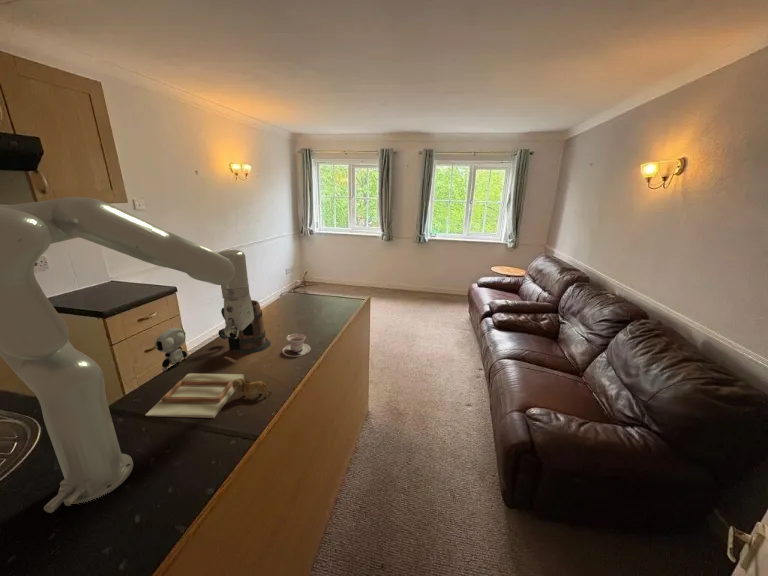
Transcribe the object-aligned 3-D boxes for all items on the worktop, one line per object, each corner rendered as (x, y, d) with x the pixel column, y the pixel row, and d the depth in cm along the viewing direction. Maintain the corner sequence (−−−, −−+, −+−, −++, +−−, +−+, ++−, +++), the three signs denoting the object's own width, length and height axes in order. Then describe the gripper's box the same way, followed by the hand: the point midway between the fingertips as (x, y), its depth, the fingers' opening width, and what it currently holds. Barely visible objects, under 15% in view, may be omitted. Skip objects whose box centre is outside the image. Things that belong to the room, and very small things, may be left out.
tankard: (278, 340, 143) (275, 299, 137) (256, 358, 127) (251, 313, 122) (234, 334, 148) (229, 294, 142) (207, 350, 132) (200, 306, 126)
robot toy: (167, 374, 115) (160, 337, 110) (158, 372, 116) (150, 336, 111) (194, 358, 126) (189, 324, 122) (185, 356, 127) (179, 323, 123)
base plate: (214, 419, 93) (213, 411, 92) (146, 419, 92) (144, 411, 92) (244, 377, 114) (243, 371, 113) (188, 377, 114) (187, 370, 113)
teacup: (316, 348, 137) (316, 336, 135) (296, 360, 127) (295, 346, 125) (297, 341, 143) (296, 329, 141) (276, 352, 133) (275, 339, 131)
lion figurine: (233, 403, 100) (230, 383, 98) (235, 395, 104) (232, 376, 102) (272, 397, 104) (270, 378, 102) (272, 389, 108) (271, 371, 106)
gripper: (234, 301, 86) (242, 356, 91) (259, 283, 102) (264, 330, 108) (207, 300, 86) (216, 355, 91) (236, 282, 102) (242, 330, 107)
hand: (242, 342), depth 99 cm, fingers open, 9 cm apart
